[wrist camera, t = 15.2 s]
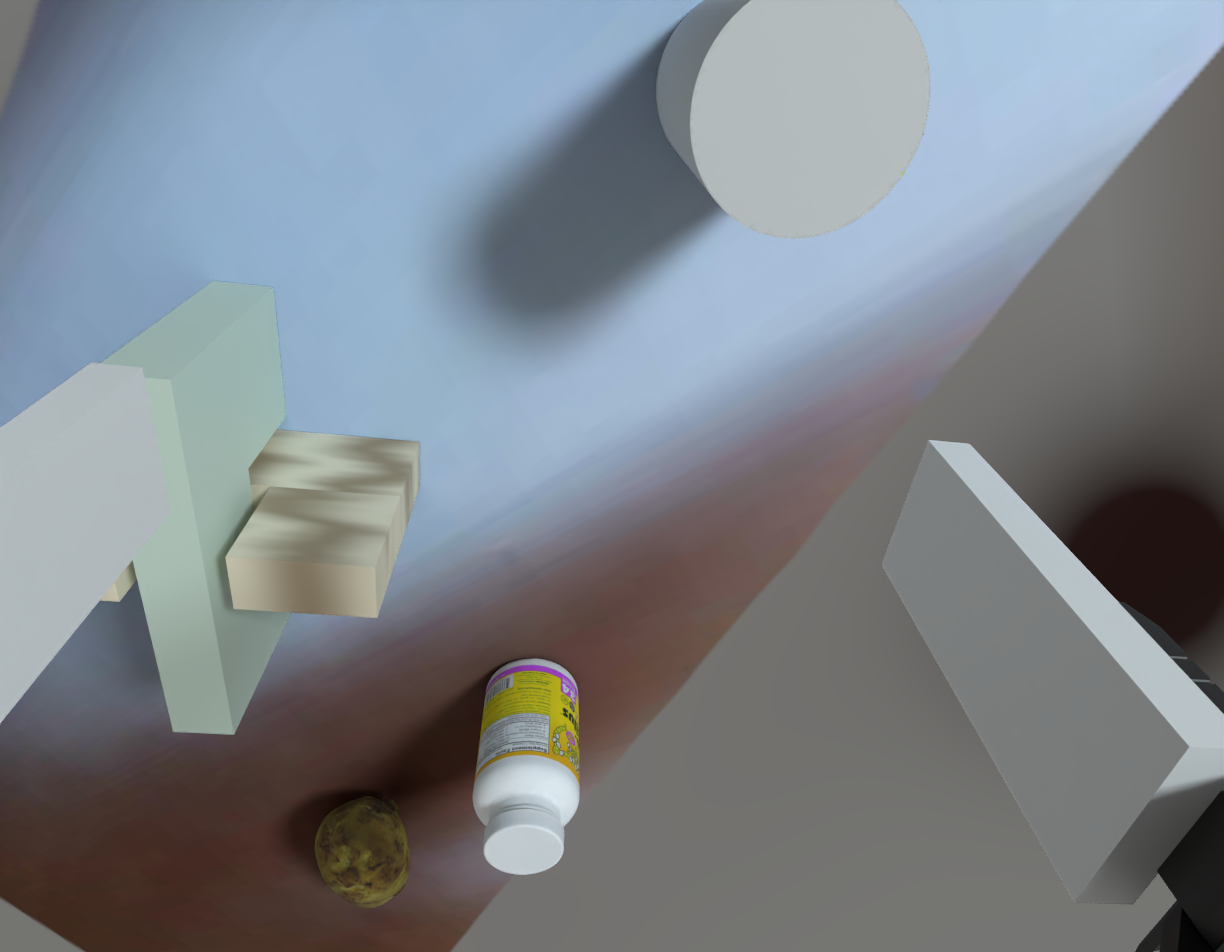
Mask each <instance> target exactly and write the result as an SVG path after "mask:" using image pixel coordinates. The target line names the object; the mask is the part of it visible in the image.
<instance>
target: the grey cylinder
mask: <svg viewBox="0 0 1224 952" xmlns="http://www.w3.org/2000/svg"><path fill="white" fill-rule="evenodd" d="M656 102H657V110H658V115H659V119H660V122H661V125H662V128H663V130H664V133H665V135H666V137H667V139H668V140H669V142H670V144H671V145H672V147H673V148H674V149H675V151H676V152H677V153H678V155H679V156H680V157H681V158H682V160H683V161H684V162H685V163H686V165H687V166H688V167H689V168H690V170H691V171H692V172H693V173H694V175H695V176H696V177H697V178H698V180H699V181H700V182H701V183H702V185H703V186H704V187H705V188H706V190H707V191H708V192H709V193H710V195H711V196H712V197H713V198H714V200H715V201H716V202H717V203H718V204H719V206H720V207H721V208H722V209H723V210H724V211H725V212H726V213H728V214H729V215H730V216H731V217H732V218H734V219H735V220H736V221H738V222H739V223H741V224H742V225H744V226H746V227H748V228H750V229H752V230H754V231H757V232H759V233H762V234H766V235H769V236H774V237H780V238H808V237H814V236H819V235H823V234H827V233H830V232H832V231H835V230H838V229H840V228H842V227H845V226H847V225H848V224H850V223H852V222H854V221H856V220H857V219H859V218H861V217H862V216H863V215H865V214H866V213H868V212H869V211H870V210H871V209H873V208H874V207H875V206H876V205H877V204H878V203H880V202H881V201H882V200H883V199H884V198H885V197H886V196H887V195H888V194H889V192H890V191H891V190H892V189H893V188H894V187H895V185H896V184H897V183H898V181H899V180H900V179H901V177H902V176H903V174H904V173H905V171H906V170H907V168H908V166H909V165H910V163H911V161H912V159H913V157H914V155H915V153H916V151H917V149H918V146H919V143H920V141H921V138H922V135H923V132H924V129H925V125H926V121H927V116H928V110H929V102H930V73H929V65H928V60H927V55H926V52H925V48H924V45H923V42H922V40H921V37H920V35H919V33H918V30H917V28H916V27H915V25H914V23H913V21H912V20H911V18H910V17H909V15H908V14H907V13H906V11H905V10H904V9H903V8H902V6H901V5H900V4H899V3H898V2H897V1H896V0H704V1H703V2H701V3H700V4H699V5H697V6H696V7H695V8H694V9H692V10H691V11H690V12H689V13H688V14H687V15H686V16H685V17H684V19H683V20H682V21H681V22H680V23H679V25H678V26H677V27H676V29H675V30H674V32H673V33H672V35H671V37H670V39H669V41H668V43H667V45H666V47H665V49H664V52H663V54H662V57H661V61H660V64H659V68H658V74H657V81H656Z"/></svg>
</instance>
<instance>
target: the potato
mask: <svg viewBox="0 0 1224 952" xmlns="http://www.w3.org/2000/svg"><path fill="white" fill-rule="evenodd" d="M398 808H399V807H398V806H397V804H396V802H395V801H394V800H393V799H391V800H390V799H387V798H383V799H382V801H381V800H379V799H378V798H374V797H371V796H363V797H362V798H358V799H354V800H351V801H348V802H346V803H344V804H342V805H341V806H339V807H337V808H336V809H332V810H331V811H330V812H328V813H327V814H326V815H325V817H324V820H323V821H322V823H321V825H320V827H319V829H318V832H317V834H316V838H315V854H316V859H317V863H318V867H319V870H320V872H321V874H322V877H323V879H324V882H325V885H326V884H327V885H328V886H329V887H330V888H331V889H332V890H333V891H334V892H335V893H336V894H338V895H339V896H341V897H342V898H343V899H344V900H346V901H347V902H349V903H350V904H352V905H355V906H357V907H361V908H373V907H377V906H380V905H382V904H384V903H385V902H387V901H389V900H390V899H391V898H392V897H393V896H396V895H397V894H399V892H400V891H401V890H402V889H403V888H404V886H405V882H406V880H407V877H408V874H409V869H410V852H409V848H408V843H407V836H406V831H405V828H404V826H403V823H402V821H401V819H400V817H399V815H398V813H397V812H398V811H399V810H398Z"/></svg>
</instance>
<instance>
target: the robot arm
mask: <svg viewBox="0 0 1224 952" xmlns="http://www.w3.org/2000/svg"><path fill="white" fill-rule="evenodd" d="M170 513H171V508H170V503H169V498H168V493H167V488H166V483H165V478H164V473H163V468H162V463H161V458H160V453H159V448H158V443H157V438H156V433H155V428H154V422H153V417H152V412H151V407H150V402H149V397H148V392H147V387H146V382H145V377H144V372H143V367H132V366H121V365H110V364H100V363H90V364H89V365H87V366H86V367H85V368H83V369H82V370H80V371H79V372H78V373H76V374H75V375H73V376H72V377H71V378H69V379H68V380H66V381H65V382H64V383H62V384H61V385H59V386H58V387H57V388H55V389H54V390H53V391H51V392H50V393H48V394H47V395H46V396H44V397H43V398H41V399H40V400H39V401H37V402H36V403H34V404H33V405H32V406H30V407H29V408H27V409H26V410H25V411H23V412H22V413H20V414H19V415H18V416H16V417H15V418H13V419H12V420H11V421H9V422H8V423H6V424H5V425H4V426H2V427H1V428H0V723H1V722H2V720H3V719H4V718H5V717H6V716H7V714H8V713H9V712H10V711H11V709H12V708H13V707H14V706H15V704H16V703H17V702H18V701H19V699H20V698H21V697H22V696H23V695H24V693H25V692H26V691H27V690H28V688H29V687H30V686H31V685H32V683H33V682H34V681H35V680H36V679H37V677H38V676H39V675H40V674H41V672H42V671H43V670H44V669H45V667H46V666H47V665H48V664H49V662H50V661H51V660H52V659H53V658H54V656H55V655H56V654H57V653H58V651H59V650H60V649H61V648H62V646H63V645H64V644H65V643H66V642H67V640H68V639H69V638H70V637H71V635H72V634H73V633H74V632H75V630H76V629H77V628H78V627H79V625H80V624H81V623H82V622H83V621H84V619H85V618H86V617H87V616H88V614H89V613H90V612H91V611H92V609H93V608H94V607H95V606H96V604H97V603H98V602H99V601H100V600H101V598H102V597H103V596H104V595H105V593H106V592H107V591H108V590H109V588H110V587H111V586H112V585H113V584H114V582H115V581H116V580H117V579H118V577H119V576H120V575H121V574H122V572H123V571H124V570H125V569H126V567H127V566H128V565H129V564H130V563H131V561H132V560H133V559H134V558H135V556H136V555H137V554H138V553H139V551H140V550H141V549H142V548H143V547H144V545H145V544H146V543H147V542H148V540H149V539H150V538H151V537H152V535H153V534H154V533H155V532H156V530H157V529H158V528H159V527H160V526H161V524H162V523H163V522H164V521H165V519H166V518H167V517H168V516H169V514H170ZM882 567H883V569H884V570H885V572H886V574H887V576H888V577H889V579H890V581H891V583H892V584H893V586H894V588H895V590H896V591H897V593H898V595H899V596H900V598H901V600H902V602H903V604H904V605H905V607H906V609H907V611H908V612H909V614H910V616H911V618H912V619H913V621H914V623H915V625H916V626H917V628H918V630H919V632H920V634H921V635H922V637H923V639H924V641H925V642H926V644H927V646H928V647H929V649H930V651H931V653H932V654H933V656H934V658H935V660H936V662H937V663H938V665H939V667H940V669H941V670H942V672H943V674H944V675H945V677H946V679H947V681H948V683H949V684H950V686H951V688H952V690H953V691H954V693H955V695H956V696H957V698H958V700H959V702H960V704H961V705H962V707H963V709H964V711H965V712H966V714H967V716H968V718H969V719H970V721H971V723H972V725H973V726H974V728H975V730H976V732H977V733H978V735H979V737H980V739H981V740H982V742H983V744H984V746H985V747H986V749H987V751H988V753H989V755H990V756H991V758H992V760H993V761H994V763H995V765H996V767H997V769H998V770H999V772H1000V774H1001V776H1002V777H1003V779H1004V781H1005V783H1006V784H1007V786H1008V788H1009V790H1010V791H1011V793H1012V795H1013V797H1014V798H1015V800H1016V802H1017V804H1018V805H1019V807H1020V809H1021V810H1022V812H1023V814H1024V816H1025V818H1026V819H1027V821H1028V823H1029V825H1030V826H1031V828H1032V830H1033V832H1034V833H1035V835H1036V837H1037V839H1038V840H1039V842H1040V844H1041V846H1042V847H1043V849H1044V851H1045V853H1046V854H1047V856H1048V858H1049V860H1050V861H1051V863H1052V865H1053V867H1054V869H1055V870H1056V872H1057V874H1058V875H1059V877H1060V879H1061V881H1062V882H1063V884H1064V886H1065V888H1066V889H1067V891H1068V893H1069V895H1070V897H1071V898H1072V900H1073V902H1074V903H1097V904H1098V903H1099V904H1134V903H1135V901H1136V900H1137V899H1138V898H1139V896H1140V895H1141V894H1142V893H1143V891H1144V890H1145V888H1147V886H1148V885H1149V884H1150V883H1151V882H1152V880H1153V879H1154V878H1155V877H1156V875H1157V874H1158V873H1159V874H1160V876H1161V877H1162V879H1163V880H1164V882H1165V883H1166V885H1167V886H1168V888H1169V889H1170V890H1171V892H1172V893H1173V895H1174V896H1175V898H1176V899H1177V901H1176V902H1175V903H1174V904H1173V905H1172V907H1171V908H1170V909H1169V910H1168V911H1167V913H1166V914H1165V915H1164V916H1163V917H1162V919H1161V920H1160V921H1159V922H1158V923H1157V924H1156V925H1155V927H1154V928H1153V929H1152V930H1151V931H1150V932H1149V934H1148V935H1147V936H1146V937H1145V938H1144V940H1143V941H1142V942H1141V943H1140V944H1139V946H1138V948H1137V949H1136V951H1135V952H1153V951H1158V950H1160V952H1224V692H1223V691H1222V690H1221V689H1220V688H1219V687H1218V686H1217V685H1216V684H1210V681H1209V680H1210V678H1209V677H1208V676H1207V675H1206V674H1205V673H1204V672H1203V671H1202V670H1201V669H1200V668H1199V666H1197V664H1195V662H1194V661H1188V659H1187V656H1188V655H1187V654H1186V653H1185V652H1184V651H1183V650H1182V649H1181V648H1180V647H1179V646H1178V645H1177V644H1176V643H1175V642H1174V641H1173V640H1172V639H1171V638H1170V637H1169V636H1168V635H1167V634H1166V633H1165V631H1164V630H1163V629H1162V628H1160V627H1159V626H1158V625H1156V624H1155V623H1153V622H1152V621H1150V620H1149V619H1147V618H1146V617H1145V616H1143V615H1142V614H1140V613H1139V612H1137V611H1136V610H1134V609H1133V608H1132V607H1130V606H1129V605H1127V604H1126V603H1124V602H1118V601H1117V600H1116V599H1115V598H1114V597H1113V596H1112V595H1111V594H1110V593H1109V592H1108V591H1107V590H1106V589H1105V588H1104V586H1102V584H1101V583H1100V582H1099V581H1098V580H1097V579H1096V578H1095V577H1094V576H1093V575H1092V574H1091V573H1090V572H1089V570H1088V569H1087V568H1086V567H1085V566H1084V565H1083V564H1082V563H1081V562H1080V561H1079V560H1078V559H1077V558H1076V557H1075V556H1074V555H1073V553H1072V552H1071V551H1070V550H1069V549H1068V548H1067V547H1066V546H1065V545H1064V544H1063V543H1062V542H1061V541H1060V540H1059V539H1058V538H1057V536H1056V535H1055V534H1054V533H1053V532H1052V531H1051V530H1050V529H1049V528H1048V527H1047V526H1046V525H1045V524H1044V523H1043V522H1042V520H1040V518H1039V517H1038V516H1037V515H1036V514H1035V513H1034V512H1033V511H1032V510H1031V509H1030V508H1029V507H1028V506H1027V505H1026V503H1025V502H1024V501H1023V500H1022V499H1021V498H1020V497H1019V496H1018V495H1017V494H1016V493H1015V492H1014V491H1013V490H1012V489H1011V488H1010V486H1009V485H1008V484H1006V482H1005V481H1004V480H1003V479H1002V478H1001V477H1000V476H999V475H998V474H997V473H996V472H995V471H994V469H993V468H992V467H991V466H990V465H989V464H988V463H987V462H986V461H985V460H984V459H983V458H982V457H981V456H980V455H979V454H978V452H976V450H975V449H974V448H973V447H972V446H971V445H970V444H966V443H955V442H944V441H933V440H928V442H927V445H926V448H925V451H924V453H923V456H922V459H921V461H920V464H919V466H918V469H917V472H916V474H915V477H914V480H913V482H912V485H911V488H910V490H909V493H908V495H907V498H906V501H905V503H904V506H903V509H902V511H901V514H900V517H899V519H898V522H897V525H896V527H895V530H894V533H893V535H892V538H891V541H890V543H889V546H888V549H887V551H886V554H885V557H884V559H883V562H882Z"/></svg>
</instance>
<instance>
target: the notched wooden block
mask: <svg viewBox="0 0 1224 952" xmlns="http://www.w3.org/2000/svg"><path fill="white" fill-rule="evenodd" d="M248 470H249V478H250V485H251V493H252V500H253V508H254V513H253V515H252V516H251V518H250V519H249V521H248V522H247V524H246V525H245V527H244V529H243V530H242V532H241V533H240V535H239V536H238V538H237V539H236V541H235V543H234V544H233V546H232V547H231V549H230V550H229V552H228V553H227V555H226V557H225V558H226V565H227V571H228V577H229V583H230V589H231V595H232V602H233V608H234V609H243V610H259V611H275V612H291V613H307V614H323V615H339V616H355V617H371V618H377V617H378V614H379V611H380V608H381V604H382V601H383V598H384V595H385V592H386V589H387V586H388V583H389V580H390V577H391V574H392V570H393V567H394V564H395V561H396V558H397V555H398V552H399V549H400V546H401V543H402V539H403V536H404V533H405V530H406V527H407V524H408V521H409V518H410V515H411V512H412V509H413V505H414V502H415V499H416V496H417V493H418V490H419V487H420V442H415V441H404V440H392V439H380V438H369V437H357V436H345V435H334V434H322V433H310V432H299V431H287V430H276V431H275V432H274V434H273V435H272V436H271V438H270V439H269V441H268V442H267V443H266V445H265V446H264V448H263V449H262V450H261V452H260V453H259V455H258V456H257V457H256V459H255V460H254V462H253V463H252V464H251V466H250V467H249V468H248ZM136 580H137V577H136V573H135V568H134V564H133V560H132V561H131V563H130V564H129V565H128V566H127V567H126V569H125V570H124V571H123V572H122V574H121V575H120V576H119V577H118V579H117V580H116V581H115V582H114V584H113V585H112V586H111V587H110V588H109V590H108V591H107V592H106V593H105V595H104V596H103V597H102V598H101V600H100V601H115V602H120V601H121V599H122V598H123V597H124V595H125V594H126V593H127V592H128V590H129V589H130V588H131V586H132V585H133V584H134V583H135V581H136Z"/></svg>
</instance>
